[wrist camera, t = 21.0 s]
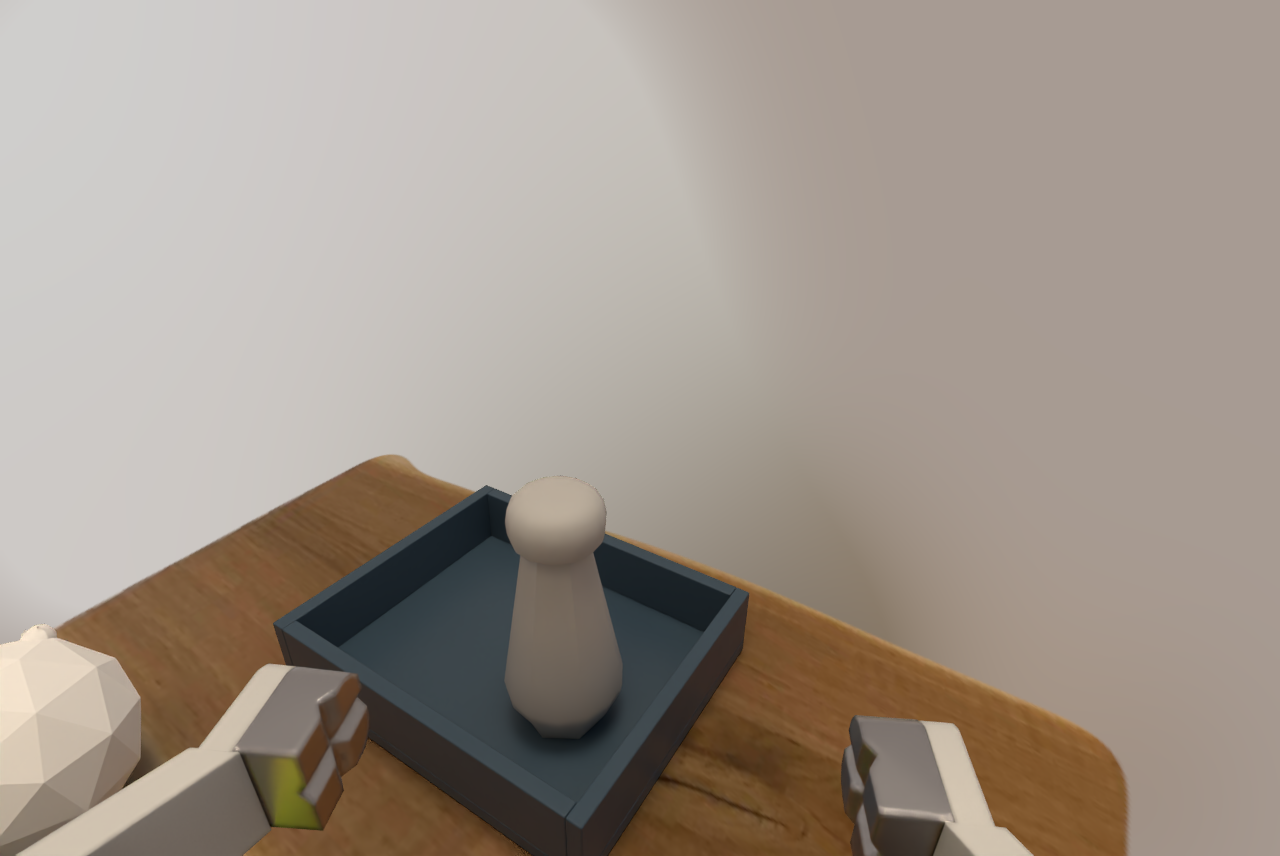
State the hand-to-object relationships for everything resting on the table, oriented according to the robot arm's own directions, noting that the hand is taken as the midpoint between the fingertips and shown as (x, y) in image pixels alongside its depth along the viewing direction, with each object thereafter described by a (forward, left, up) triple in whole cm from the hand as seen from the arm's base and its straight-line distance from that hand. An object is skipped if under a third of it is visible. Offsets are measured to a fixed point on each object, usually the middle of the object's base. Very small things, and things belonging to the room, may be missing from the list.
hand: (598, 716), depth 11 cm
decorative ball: (+27, -8, -20) cm, 35 cm away
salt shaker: (+4, -16, -20) cm, 26 cm away
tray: (+7, -19, -20) cm, 29 cm away
